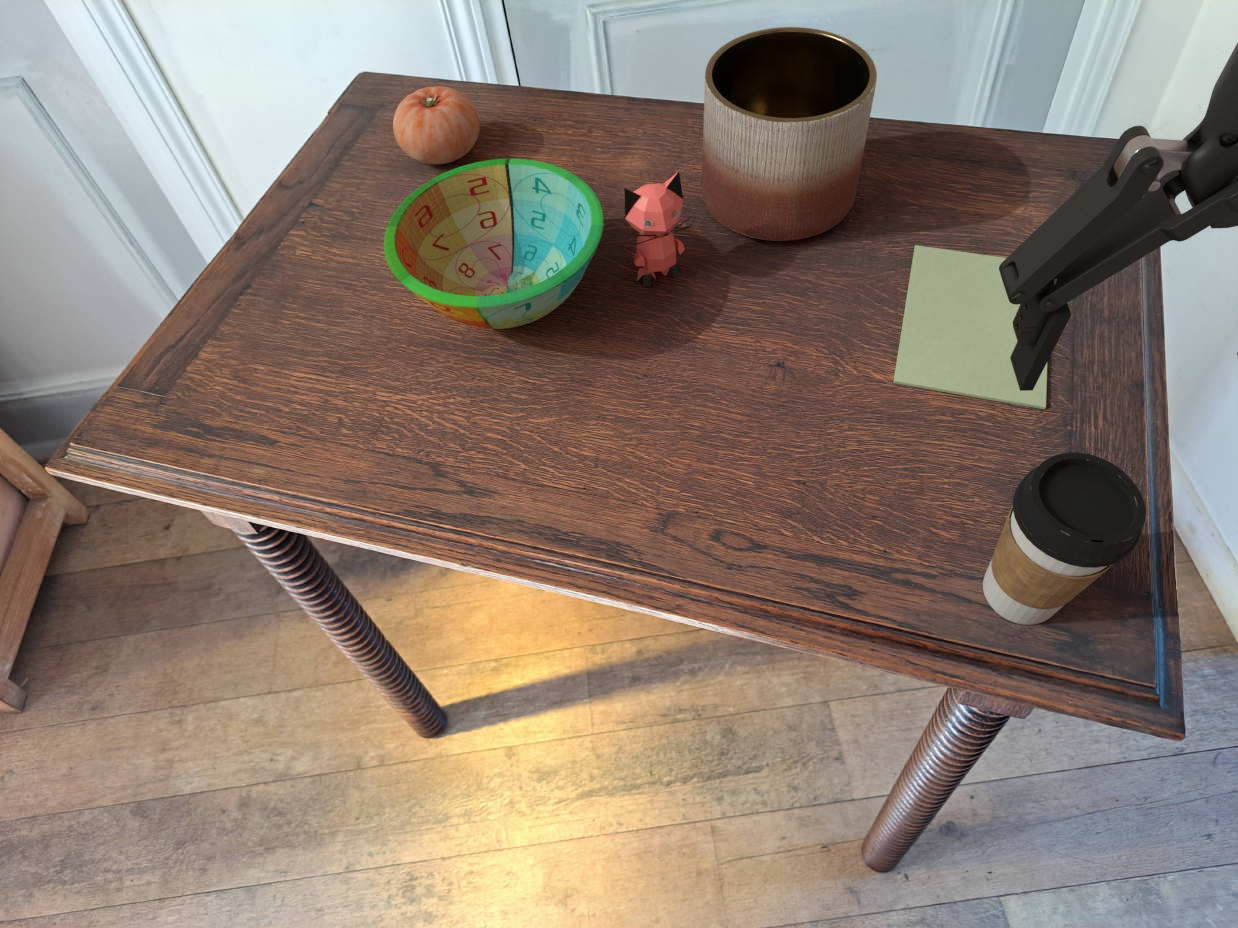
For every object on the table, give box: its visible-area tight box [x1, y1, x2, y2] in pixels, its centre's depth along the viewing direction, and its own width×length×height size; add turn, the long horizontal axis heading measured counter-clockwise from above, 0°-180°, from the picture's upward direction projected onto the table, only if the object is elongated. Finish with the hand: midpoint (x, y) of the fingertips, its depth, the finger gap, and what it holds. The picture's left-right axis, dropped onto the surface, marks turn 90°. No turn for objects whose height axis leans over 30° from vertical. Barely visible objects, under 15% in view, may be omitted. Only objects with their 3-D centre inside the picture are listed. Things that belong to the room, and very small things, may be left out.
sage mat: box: [893, 244, 1048, 411], centre depth 87 cm, size 20×14×1 cm
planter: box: [701, 26, 878, 242], centre depth 94 cm, size 18×18×16 cm
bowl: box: [383, 158, 605, 330], centre depth 90 cm, size 22×22×10 cm
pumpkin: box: [392, 85, 481, 165], centre depth 107 cm, size 11×11×8 cm
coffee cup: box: [982, 451, 1147, 626], centre depth 64 cm, size 8×8×15 cm
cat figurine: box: [624, 170, 693, 287], centre depth 90 cm, size 7×7×12 cm
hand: (1134, 372), depth 53 cm, fingers open, 13 cm apart
